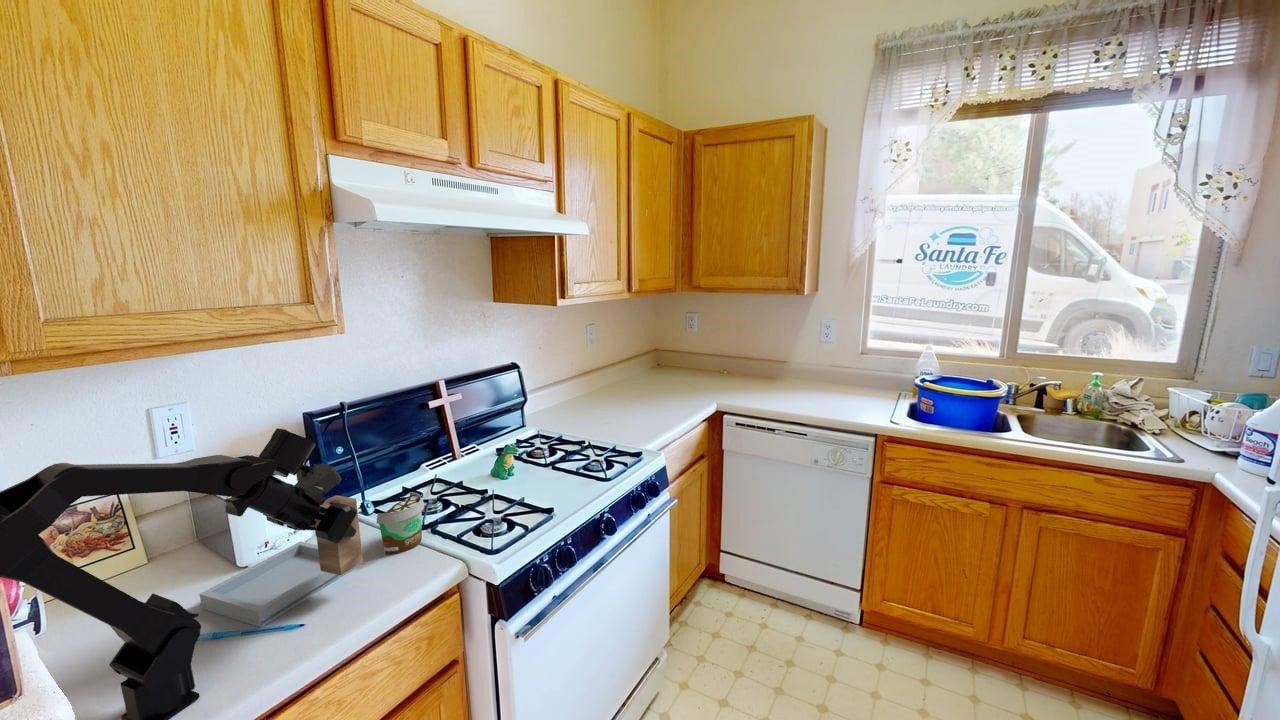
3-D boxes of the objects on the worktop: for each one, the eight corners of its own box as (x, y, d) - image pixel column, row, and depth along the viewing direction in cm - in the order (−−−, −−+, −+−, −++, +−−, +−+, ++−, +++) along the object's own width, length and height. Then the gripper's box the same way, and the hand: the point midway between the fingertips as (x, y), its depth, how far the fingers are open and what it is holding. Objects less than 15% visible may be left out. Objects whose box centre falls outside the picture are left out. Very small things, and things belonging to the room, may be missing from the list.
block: (341, 575, 99) (333, 509, 96) (320, 570, 100) (312, 505, 98) (362, 561, 103) (356, 497, 101) (342, 557, 105) (335, 494, 103)
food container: (405, 560, 114) (401, 517, 112) (380, 557, 115) (375, 514, 114) (438, 532, 126) (434, 492, 124) (415, 530, 127) (411, 490, 125)
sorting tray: (261, 627, 94) (258, 611, 93) (202, 608, 99) (199, 593, 99) (356, 566, 112) (355, 553, 111) (302, 553, 117) (300, 541, 117)
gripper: (340, 464, 90) (401, 499, 102) (275, 449, 98) (338, 483, 110) (299, 527, 85) (368, 557, 96) (233, 506, 93) (304, 536, 104)
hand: (344, 530), depth 102 cm, fingers closed on block, 5 cm apart
